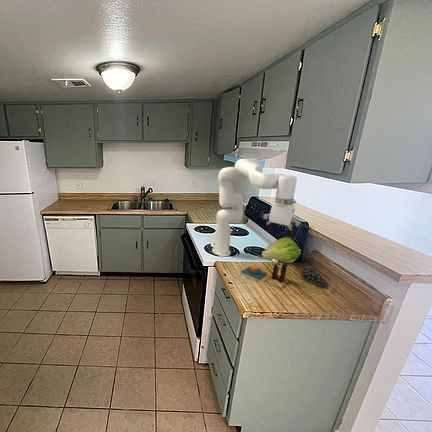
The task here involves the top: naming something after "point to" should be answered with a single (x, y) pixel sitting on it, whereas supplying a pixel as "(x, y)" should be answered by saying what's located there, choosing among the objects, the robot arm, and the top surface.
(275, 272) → the bracket
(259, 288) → the top surface
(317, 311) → the top surface
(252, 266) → the button
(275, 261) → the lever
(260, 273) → the control block
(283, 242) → the lettuce
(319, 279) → the fruit
